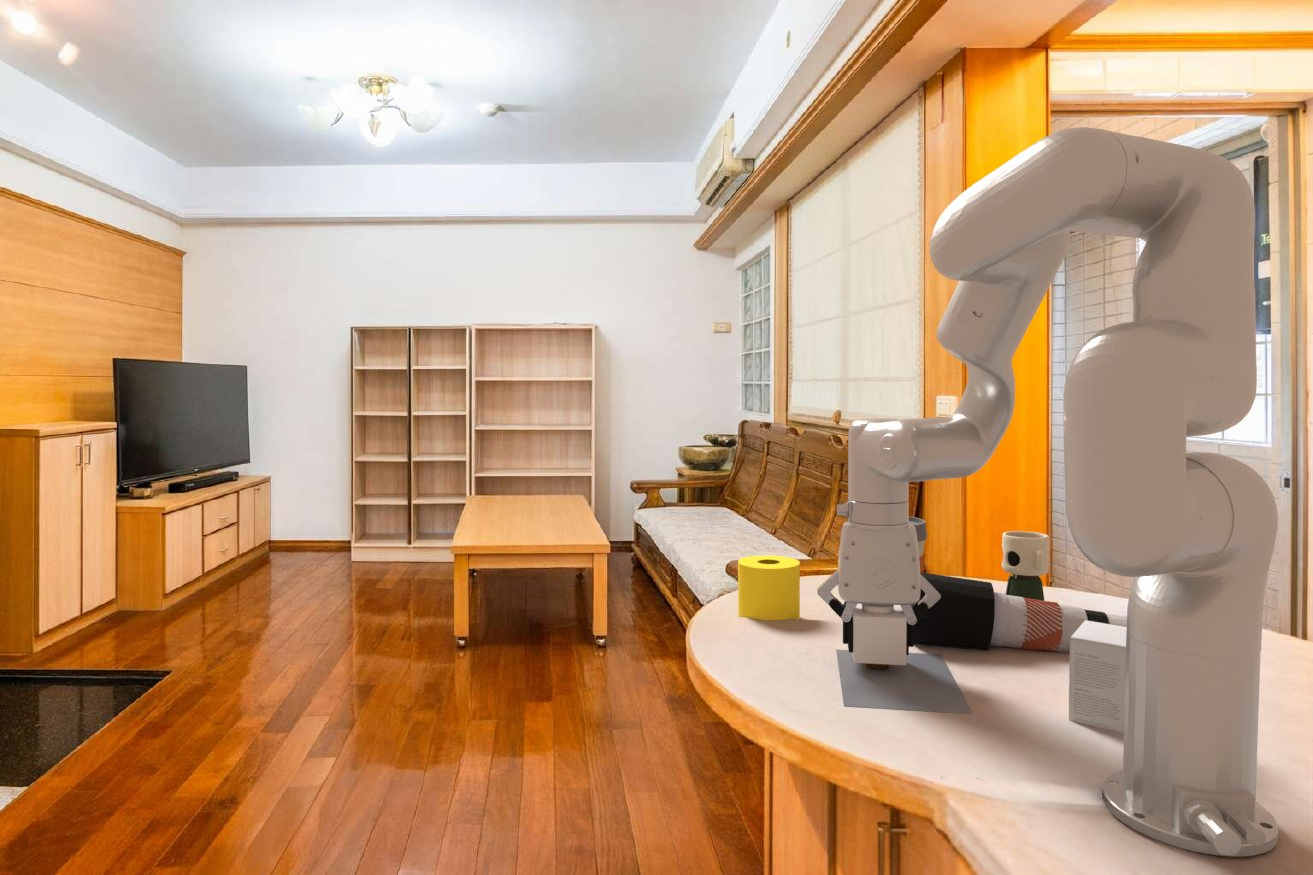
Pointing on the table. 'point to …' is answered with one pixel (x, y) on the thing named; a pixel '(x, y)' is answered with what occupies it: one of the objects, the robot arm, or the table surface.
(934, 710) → the plate
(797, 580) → the yellow toilet paper roll
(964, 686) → the table surface
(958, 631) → the black and white bottle
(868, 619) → the white push button box
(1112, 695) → the small box
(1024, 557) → the character mug
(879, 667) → the brass cylinder
